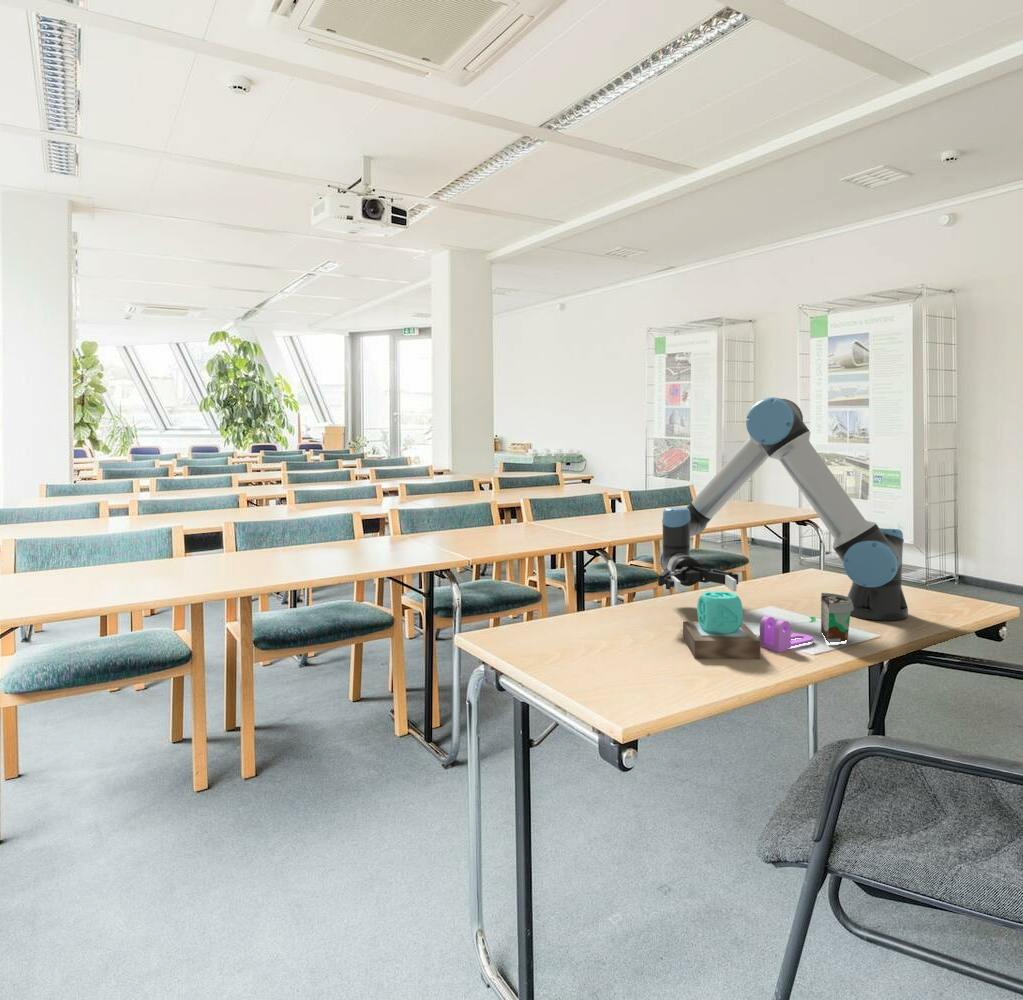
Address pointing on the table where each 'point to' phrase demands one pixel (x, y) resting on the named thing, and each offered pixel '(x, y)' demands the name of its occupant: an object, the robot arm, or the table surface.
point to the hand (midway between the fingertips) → (707, 586)
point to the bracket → (779, 635)
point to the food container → (835, 616)
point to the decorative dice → (719, 612)
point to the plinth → (721, 643)
